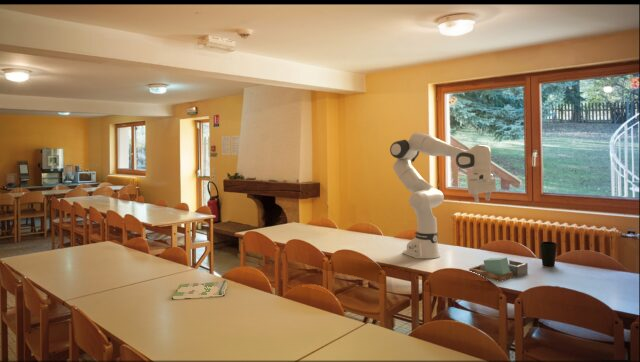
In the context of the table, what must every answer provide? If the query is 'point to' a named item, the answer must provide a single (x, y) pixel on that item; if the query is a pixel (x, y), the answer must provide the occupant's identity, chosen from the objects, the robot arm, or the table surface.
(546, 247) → the cup
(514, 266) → the bay
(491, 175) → the robot arm
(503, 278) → the tray
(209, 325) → the table surface
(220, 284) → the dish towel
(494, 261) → the green rectangular block
